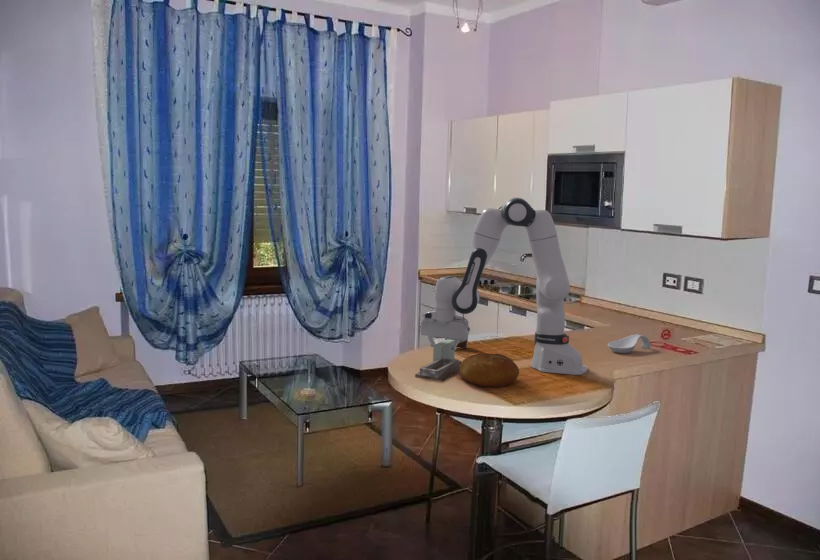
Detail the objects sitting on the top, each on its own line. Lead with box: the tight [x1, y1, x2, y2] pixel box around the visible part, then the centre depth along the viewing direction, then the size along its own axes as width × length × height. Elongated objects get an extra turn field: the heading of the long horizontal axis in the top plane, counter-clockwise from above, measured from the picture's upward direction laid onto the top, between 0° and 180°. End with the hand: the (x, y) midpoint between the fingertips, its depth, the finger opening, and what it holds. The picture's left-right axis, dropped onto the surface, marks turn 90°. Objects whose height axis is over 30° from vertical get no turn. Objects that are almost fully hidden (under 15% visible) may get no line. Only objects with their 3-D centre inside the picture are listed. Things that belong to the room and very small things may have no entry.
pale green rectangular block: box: [432, 339, 456, 362], centre depth 278 cm, size 4×14×8 cm, turn 154°
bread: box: [459, 352, 520, 388], centre depth 250 cm, size 23×23×10 cm
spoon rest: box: [607, 333, 651, 355], centre depth 307 cm, size 24×12×7 cm, turn 124°
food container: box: [444, 325, 471, 349], centre depth 306 cm, size 12×6×10 cm, turn 74°
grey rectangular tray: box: [414, 358, 460, 382], centre depth 259 cm, size 11×20×4 cm, turn 154°
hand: (443, 348), depth 277 cm, fingers open, 8 cm apart
